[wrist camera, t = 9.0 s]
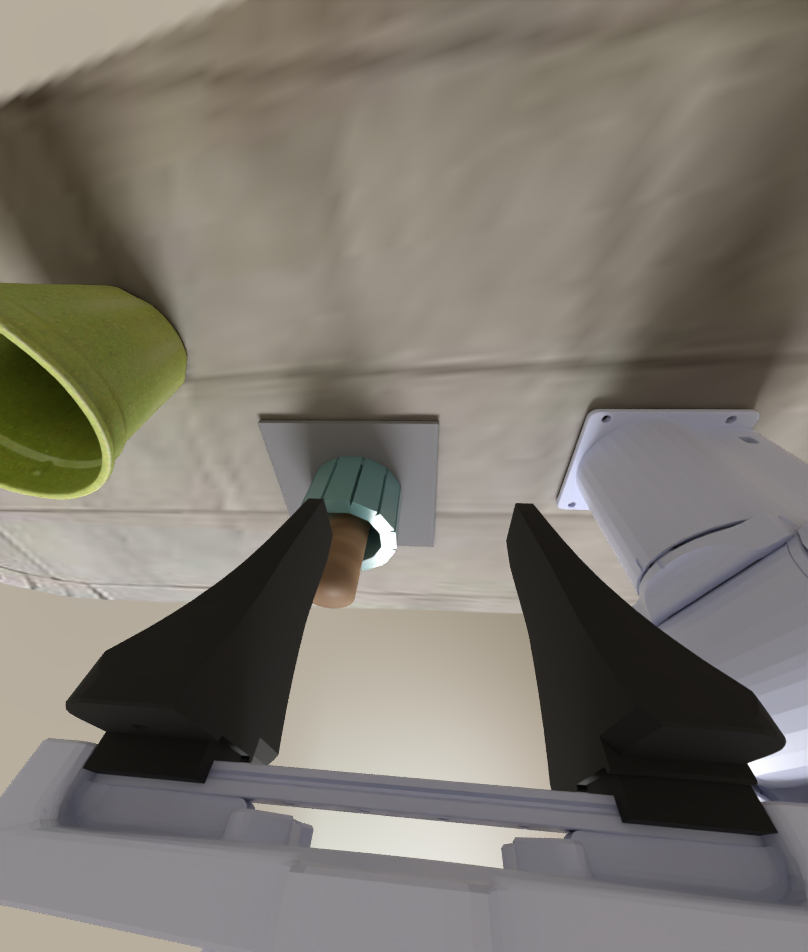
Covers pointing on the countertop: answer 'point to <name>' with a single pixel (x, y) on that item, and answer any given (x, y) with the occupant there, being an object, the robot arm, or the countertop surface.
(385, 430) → the grey mat
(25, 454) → the plant pot
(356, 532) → the walnut peg
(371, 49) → the countertop surface
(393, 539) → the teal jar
